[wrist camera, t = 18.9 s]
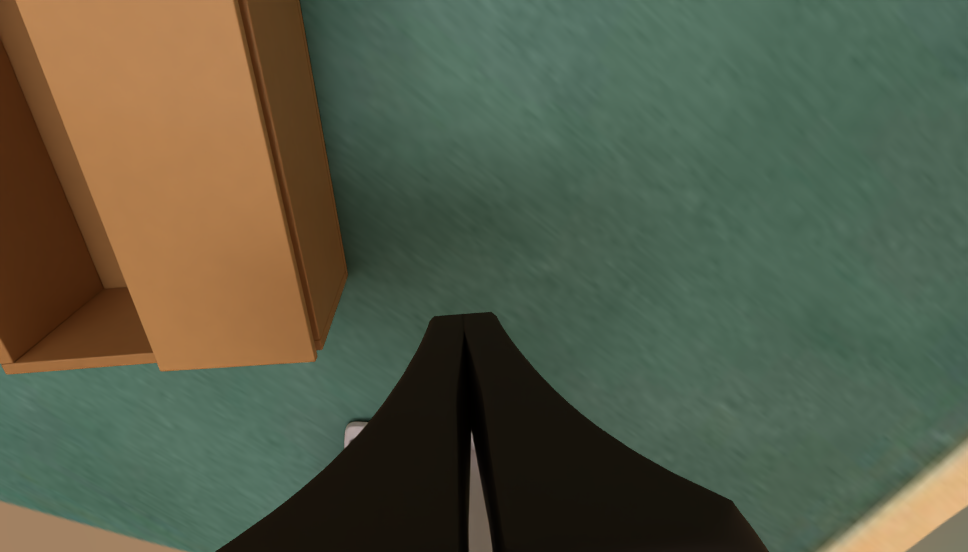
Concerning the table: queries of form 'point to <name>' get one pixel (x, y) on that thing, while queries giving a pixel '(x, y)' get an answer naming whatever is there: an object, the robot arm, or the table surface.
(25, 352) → the carton
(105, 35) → the flap
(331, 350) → the table surface
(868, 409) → the table surface
